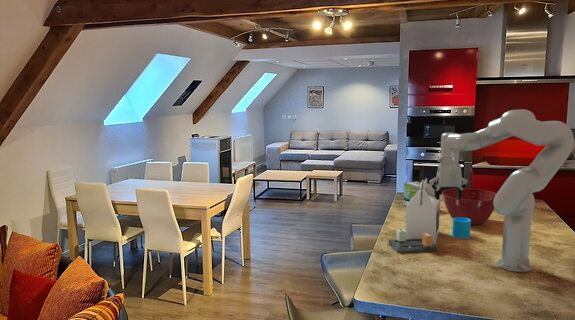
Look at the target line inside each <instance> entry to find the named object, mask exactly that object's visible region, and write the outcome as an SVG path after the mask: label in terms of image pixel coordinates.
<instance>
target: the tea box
mask: <svg viewBox="0 0 575 320" xmlns="http://www.w3.org/2000/svg"><path fill="white" fill-rule="evenodd" d="M420 183H421V181H420V182H419V181H410V182H404V183H403V206H405V207H406V206H407V204H408V203H409V202H410V200H411V199H412V197H413V196H414V195H415V194H416V192H417V191H418V190H419V186H418V185H419V184H420Z"/></svg>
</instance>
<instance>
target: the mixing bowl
mask: <svg viewBox="0 0 575 320" xmlns="http://www.w3.org/2000/svg"><path fill="white" fill-rule="evenodd" d="M457 189H458V188H457V187H456V188H450V189H449V188H448V189H444V190H442V192H441V194H442V197H443V201H444V205H445V207H446V210H447V212H448V214H449V216H450V217H451V218H452V219H453V218H456V217H463V218H468V219H470V220H471V226H475V225H476V226H477V225H482V223H485V222H486V221H488V220H489V218H490V217H491V215H492V214H493V212H494V210H495V208H494V204H493V202H494V198H495V196H496V194H497V193H496V192H495V191H494V192H493V191H491V190H490V191H489V190H485V189H479V188H469V187H468V188H467V187H466V188H465V187H464V188H463V190H462V196H461V199H458V198H456V190H457Z"/></svg>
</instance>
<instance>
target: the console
mask: <svg viewBox="0 0 575 320" xmlns="http://www.w3.org/2000/svg"><path fill="white" fill-rule="evenodd" d="M388 245H389V246H390V247H391V248H392V249H393V250H394V249H395V250H396V251H395V250H394V251H395V252H396V253H397V254H399V253H401V254H402V253H419V252H422V253H423V252H437V251H439V249H438V247H439V246H438V245H437V244H436V243H435V244H434V243H432V246H425V245H423V244H422V239H406V241H401V242H399V241H398V240H397V239H396V238H394V239H388Z"/></svg>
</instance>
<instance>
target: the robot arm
mask: <svg viewBox="0 0 575 320" xmlns="http://www.w3.org/2000/svg"><path fill="white" fill-rule="evenodd" d="M510 137H516V138H518V139H521V140H522V141H525V142H527V143H529V144H533V145H535V146H543V149H542V150H541V151H540V152H538V154H537V155H536V157H535V158H534V160H532V162H531V163H530V164H529V165H528V166H527V167H523V168H522V167H521V168H519V169H517V170H515V171H514V172H512V173H511V174H510V175H509V176H508V178H507V179H506V180H505V181H504V183H502V186H501V187H500V188H499V190H498V191H497V193H496V196H495V198H494V202H493V204H494V210H495V211H496V212H497V213H498V214H499V215H502V216H503V219H504V220H503V229H502V251H501V258H500V259H498V260H497V261H496V262H497V263H496V264H497V266H498V267H499V268H501V269H504V270H506V271H511V272H515V273H516V272H517V273H526V272H530V271H533V265H532V264H531V262H530V258H529V257H530V243H531V242H530V241H531V229H532V228H531V227H532V219H533V213H534V209H535V205H536V204H535V203H536V201H535V197H534V193H537V192H541V191H542V190H544V189H545V187H547V185H548V184H549V182H550V181H551V180H552V178H553V177H554V176H555V175H556V173H557V172H558V171H559V169H560V168H561V167H562V166H563V164H564V163H565V162H566V161H567V159H568V158H569V157H570V155H571V154H572V153H571V152H572V150H573V149H574V143H575V138H574V134H573V131H572V129H571V128H570V127H569V126H568V125H567V124H566V123H565V122H563V121H559V120H547V121H546V120H545V121H541V120H538V119H536V116H535V114H534V113H533V112H532V111H530V110H528V109H511V110H508V111H506V112H504V113H503V114H502V115H501V117H499V118H496V119H493V120H491V121H489V123H488V125H487V127H485V128H483V129H480V130H478V131H474V132H465V133H457V132H444V133H442V134H441V136H440V157H439V158H436V159H437V160H436V161H437V162H439V163H438V166H437V171H436V176H435V177H433V178H432V179H430V180H429V181H428V182H429V184H430V185H431V187H432V188H433V189H434V191H435V199H437V200H439V199H440V200H441V198H440V193H441V191H440V189H441V188H456V189H457V188H458V189H457V190H456V198H458V199H461V196H462V190H463V188H465V187H466V186H467V184H468V182H469V180H468V179H466V178H465V177H462V175H463V174H462V167H461V164H460V163H459V158H460V157H459V155H460V154H459V153H460V152H468V151H477V150H480V149H482V148H485V147H489V146H491V145H494V144H496V143H498V142H500V141H503V140H506V139H508V138H510ZM544 146H545V147H544ZM434 183H436V184H434Z"/></svg>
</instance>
